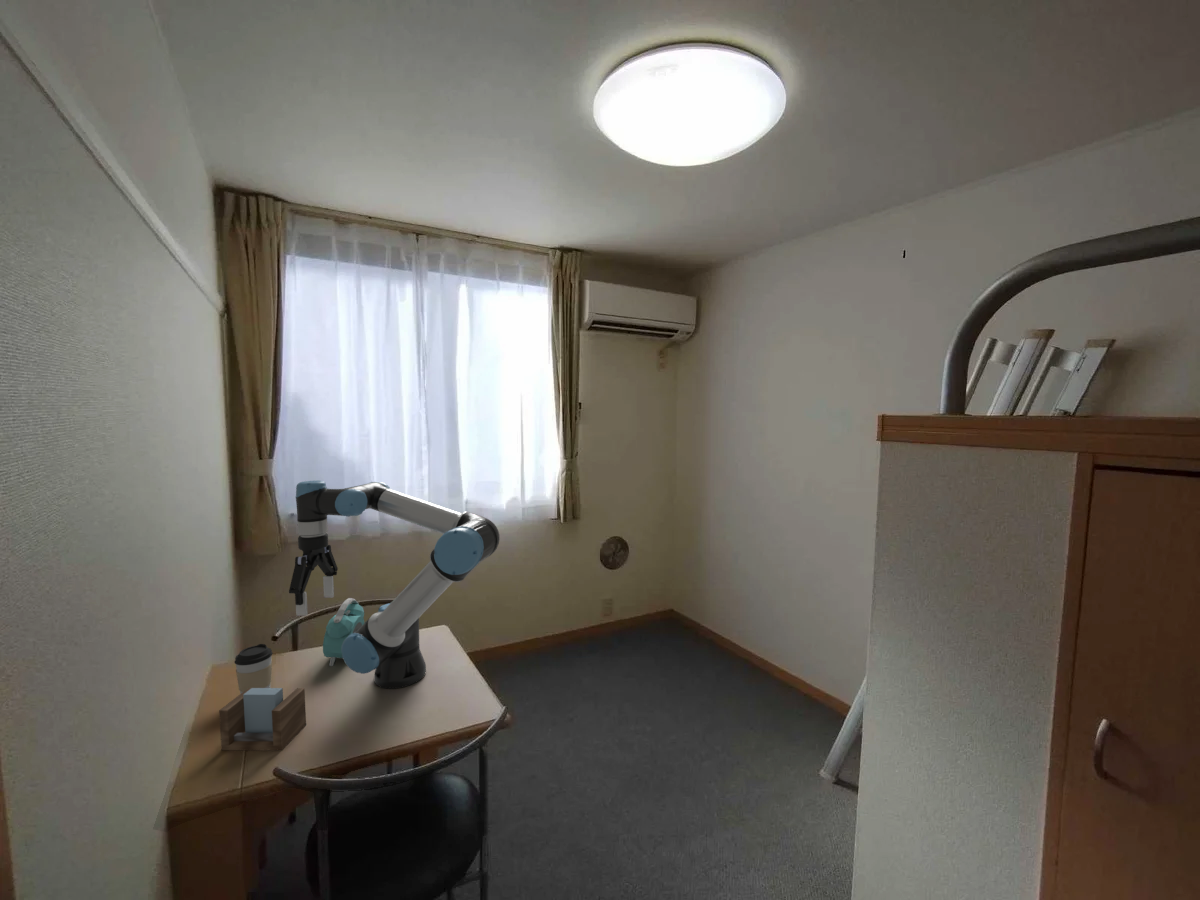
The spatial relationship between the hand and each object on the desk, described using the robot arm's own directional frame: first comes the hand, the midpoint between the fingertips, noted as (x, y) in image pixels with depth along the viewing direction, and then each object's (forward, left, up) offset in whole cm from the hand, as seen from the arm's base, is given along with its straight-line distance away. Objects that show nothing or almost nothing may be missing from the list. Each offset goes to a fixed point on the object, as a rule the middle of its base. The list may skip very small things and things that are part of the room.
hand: (316, 605), depth 145 cm
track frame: (+2, +20, -27) cm, 33 cm away
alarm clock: (+4, -22, -27) cm, 35 cm away
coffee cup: (+17, +3, -27) cm, 32 cm away
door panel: (+2, +20, -26) cm, 33 cm away
